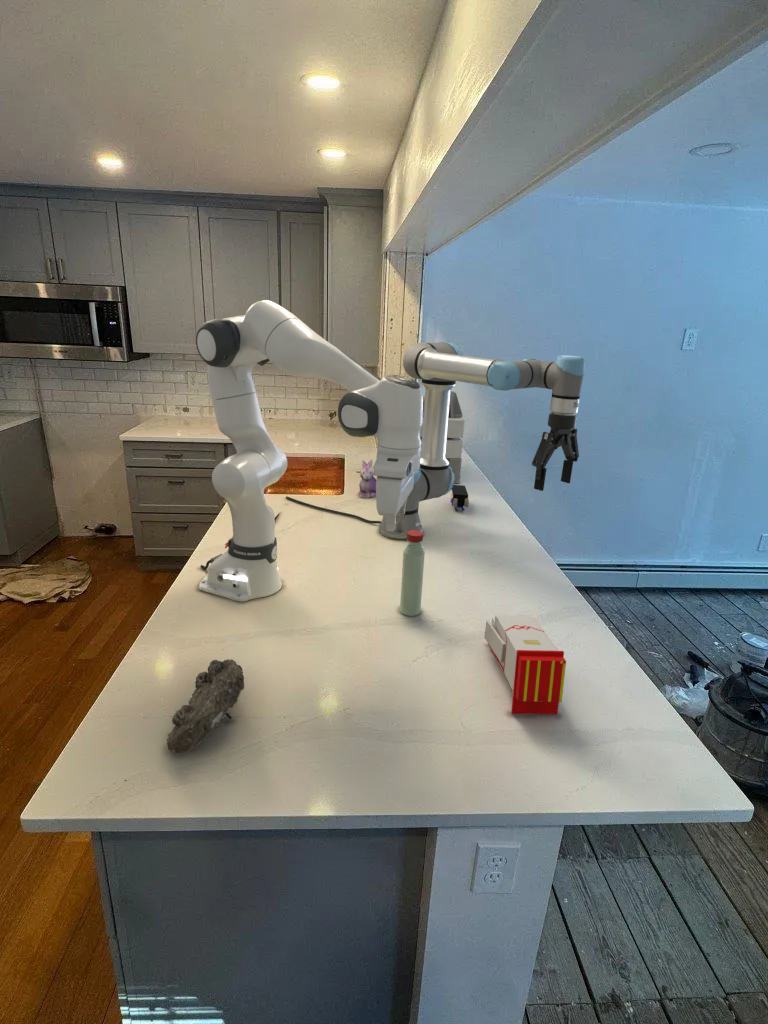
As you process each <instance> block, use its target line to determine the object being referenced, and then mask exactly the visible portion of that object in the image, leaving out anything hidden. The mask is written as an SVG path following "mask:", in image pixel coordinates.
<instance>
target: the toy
mask: <svg viewBox="0 0 768 1024" xmlns="http://www.w3.org/2000/svg"><path fill="white" fill-rule="evenodd" d="M494 615H495V616H494V617H491V622H490V620H485V621H486V622H485V630H484V640H485V641H486V642H487V646H488V647H489V649H490V651H491V652H492V654H493V656H494V657H495V659H496V661H497V663H498V665H499V667H500V668H501V670H502V671H503V674H504V676H505V678H506V680H507V682H508V684H509V686H510V689H511V690H512V701H511V712H510V713H511V714H512V715H556V716H558V715H559V714H558V713H559V705H560V703H562V702H563V695H564V694H563V693H564V686H565V685H564V683H565V677H566V676H565V675H566V667H567V666H566V665H567V660H566V658H564V656H565V651H564V650H559V649H558V648H557V646H556V645H555V644H554V642H553V641H552V640H551V638H550V637H549V636H548V634H547V633H546V631H544V629H543V628H542V626H541V625H540V623H539V622H538V620H536V618H535V617H534V615H531V614H530V615H527V614H526V615H523V614H519V615H518V614H494Z"/></svg>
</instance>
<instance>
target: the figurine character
mask: <svg viewBox="0 0 768 1024" xmlns="http://www.w3.org/2000/svg"><path fill="white" fill-rule="evenodd" d="M449 502H450V504H451V506H452V507H453V508H454V511H456V512H457V511H458V509H461V511H462V512H464V511H465V508H469V505H470V500H469V492H468V490H467V488H466V485H464V484H463V485H461V484H453V487H452V489H451V494H450V501H449Z"/></svg>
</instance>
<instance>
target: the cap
mask: <svg viewBox="0 0 768 1024" xmlns="http://www.w3.org/2000/svg"><path fill="white" fill-rule="evenodd" d="M406 541H408V542H413V543H419V542H420V543H422V542H423V541H424V532H423V531H422V532H421V531H418V530H410V531H408V532H407V540H406Z"/></svg>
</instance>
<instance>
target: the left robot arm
mask: <svg viewBox="0 0 768 1024" xmlns="http://www.w3.org/2000/svg"><path fill="white" fill-rule="evenodd" d="M195 345H196V349H197V352H198V355H199V356H200V358H201V359H202V360H203V362H204V364H206V365H207V366H206V371H207V381H208V388H209V394H210V398H211V402H212V406H213V411H214V413H215V414H214V415H215V418H216V424H217V427H218V429H219V431H220V433H221V434H223V436H225V437H227V438H228V439H229V440H230V441H231V443H232V444H233V445H232V446H233V447H234V449H235V451H236V453H234V454H231V455H230V456H227V457H225V458H224V459H223V460H222V461H220V463H218V464H217V465H216V466H215V467H214V469H213V471H212V472H211V473H212V474H211V482H212V486H213V488H214V491H215V492H216V493H217V494H218V495H219V496H220V497H221V498H223V499H224V500H225V501H226V503H227V506H228V508H229V511H230V516H231V524H232V537H231V538H229V539H228V540H227V542H225V544H224V549H227V550H226V551H224V552H223V553H220V554H218V555H216V556H214V557H211V558H210V559H209V560H207V561H206V563H205V565H203V564H201V565H200V568H201V569H203V570H207V569H208V570H207V574H206V575H205V576H204V577H203V578H202V579H201V580H200V581H199V583H198V584H199V585H198V589H199V590H200V591H202V592H206V593H209V594H213V595H216V596H219V597H223V598H227V599H229V600H233V601H237V602H240V603H241V602H248V601H251V600H253V599H258V598H265V597H269V596H273V594H274V595H275V593H277V592H279V591H280V590H281V588H282V587H283V582H282V580H281V577H280V573H279V567H278V561H277V560H278V559H277V558H278V539H277V537H276V521H275V517H276V516H275V512H274V510H273V509H272V507H270V506H269V505H268V504H267V501H266V498H265V489H266V488H267V487H270V486H271V485H273V484H275V483H277V482H278V481H279V480H280V479H281V478H282V476H283V475H284V474H285V473H286V471H287V469H288V458H287V456H286V453H285V452H284V450H283V449H282V448H280V447H279V446H277V445H276V444H275V442H274V440H273V439H272V437H271V436H270V433H269V432H268V429H267V427H266V425H265V423H264V420H263V416H262V412H261V407H260V404H259V399H258V393H257V391H256V386H255V382H254V378H253V369H254V367H255V366H256V365H259V366H260V367H263V366H265V365H266V364H267V363H268V362H271V363H272V364H273V365H274V366H275V367H276V368H278V369H279V370H281V371H282V372H284V373H286V374H288V375H290V376H292V377H296V378H304V379H305V378H307V379H318V380H325V381H330V382H332V383H335V384H338V385H340V386H341V387H343V388H345V389H346V390H347V391H348V392H347V393H346V394H344V395H343V396H342V397H341V399H340V400H339V403H338V406H337V419H338V423H339V425H340V427H341V428H342V430H343V431H344V432H345V433H346V434H347V435H349V436H351V437H353V438H366V437H373V438H375V439H376V441H377V443H376V459H375V462H374V465H373V470H372V471H373V474H374V475H373V477H376V478H375V479H376V496H375V499H376V502H375V503H376V511H377V514H378V515H379V516H382V517H383V516H385V521H386V530H387V531H390V532H394V531H395V529H396V515H397V516H403V515H404V514H405V507H406V502H407V497H408V496H409V494H410V493H411V491H412V490H413V486H414V471H416V470H418V469H419V468H420V457H421V440H420V430H421V427H422V422H423V397H424V396H423V390H422V386H421V384H420V383H419V382H418V381H416V379H415V378H412V377H410V376H409V377H408V376H406V375H399V374H389V375H385V376H382V378H380V377H379V376H377V375H376V374H375V373H374V372H372V371H371V370H369V369H368V368H366V366H364V365H363V364H361V363H360V362H359V361H357V360H356V359H354V358H353V357H352V356H350V355H349V354H347V353H345V352H344V351H342V350H341V349H340V348H338V347H336V346H335V345H333V344H332V343H331V342H329V341H327V340H326V339H325V338H323V337H322V336H321V335H319V334H318V333H317V332H315V330H313V329H312V328H310V327H309V326H308V325H307V324H306V323H304V322H303V321H302V320H301V319H300V318H299V317H297V316H296V315H295V314H293V312H291V311H289V310H288V309H286V308H285V307H283V306H281V305H280V304H278V303H276V302H274V301H273V300H269V299H268V300H267V299H264V300H263V299H262V300H259V301H256V302H254V303H252V304H251V306H250V307H248V309H247V310H246V312H245V314H243V315H241V314H240V315H236V316H230V317H225V318H215V319H211V320H208V321H205V322H204V323H202V324H200V326H199V327H198V328H197V332H196V336H195Z"/></svg>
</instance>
